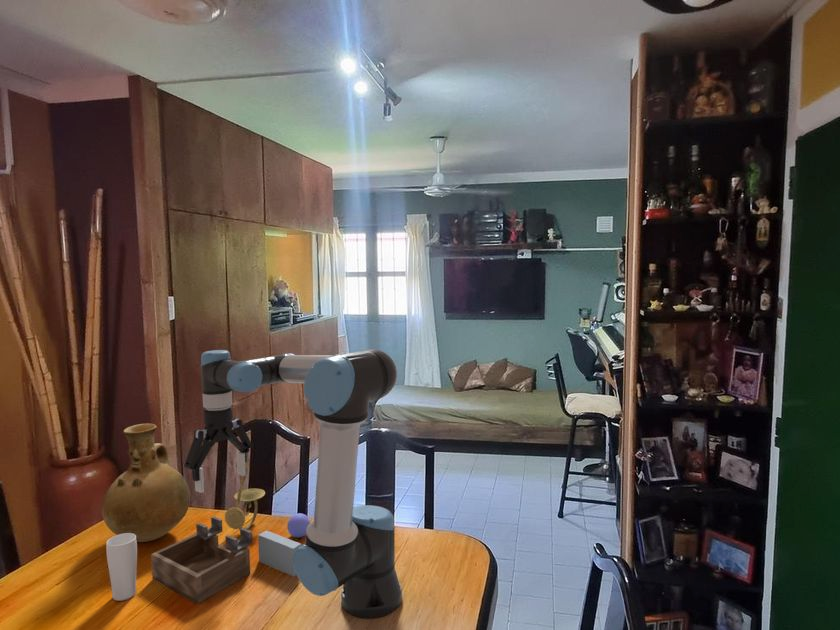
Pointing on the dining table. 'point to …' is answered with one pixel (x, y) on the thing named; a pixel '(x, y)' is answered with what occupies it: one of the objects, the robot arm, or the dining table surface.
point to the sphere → (298, 525)
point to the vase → (146, 490)
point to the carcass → (203, 562)
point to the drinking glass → (122, 565)
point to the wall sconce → (235, 515)
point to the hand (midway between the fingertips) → (221, 483)
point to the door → (277, 552)
